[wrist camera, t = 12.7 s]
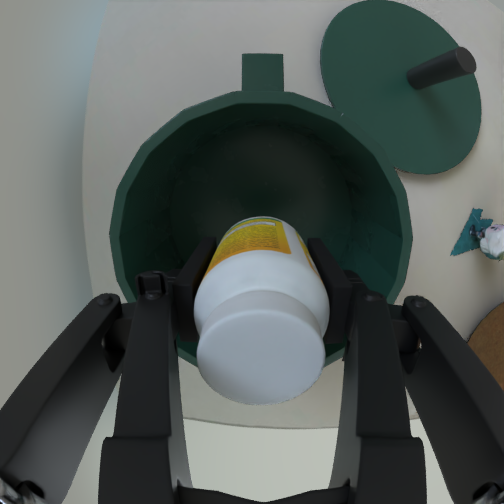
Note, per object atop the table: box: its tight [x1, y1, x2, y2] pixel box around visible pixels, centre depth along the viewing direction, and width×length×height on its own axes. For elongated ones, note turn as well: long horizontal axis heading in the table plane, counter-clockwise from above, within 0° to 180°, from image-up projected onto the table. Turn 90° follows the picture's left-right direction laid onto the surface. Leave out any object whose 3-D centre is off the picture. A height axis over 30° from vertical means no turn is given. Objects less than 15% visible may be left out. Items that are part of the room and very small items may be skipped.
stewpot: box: [109, 54, 413, 368], centre depth 22 cm, size 20×25×12 cm
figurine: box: [450, 208, 504, 262], centre depth 23 cm, size 12×9×8 cm
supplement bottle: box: [194, 216, 330, 405], centre depth 13 cm, size 5×5×10 cm
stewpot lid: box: [320, 0, 481, 174], centre depth 17 cm, size 21×21×10 cm
